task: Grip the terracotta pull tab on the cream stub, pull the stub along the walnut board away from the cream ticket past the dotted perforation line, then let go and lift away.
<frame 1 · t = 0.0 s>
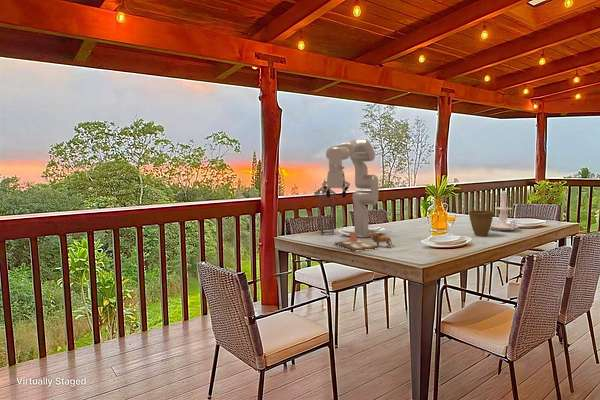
hand: (336, 197, 239), 31 cm above the table, tool pointing down, fingers open, 9 cm apart
geometric lantern: (326, 234, 295), on the table
stub: (353, 237, 251), point 5 cm above the table, slide at 0.0 cm
plant pot: (480, 235, 271), on the table
lion figurine: (381, 247, 246), on the table
candlestick: (504, 230, 287), on the table
ticket board: (355, 246, 249), on the table
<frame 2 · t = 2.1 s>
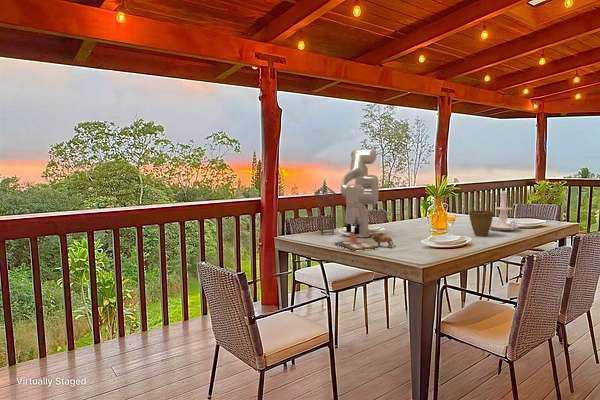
hand: (352, 233, 250), 8 cm above the table, tool pointing down, fingers open, 9 cm apart
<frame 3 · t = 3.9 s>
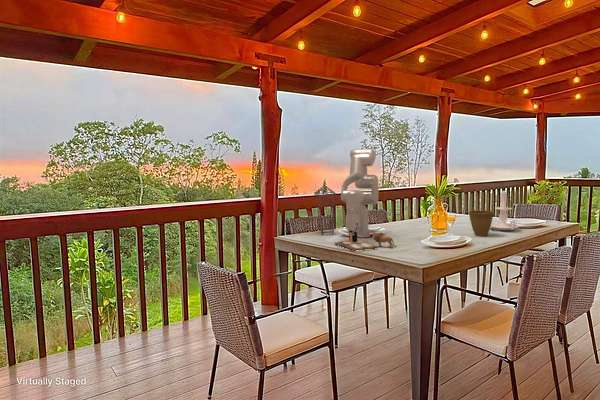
hand: (353, 240, 251), 3 cm above the table, tool pointing down, fingers closed on stub, 3 cm apart
stub: (353, 237, 251), point 5 cm above the table, slide at 0.0 cm, touching gripper
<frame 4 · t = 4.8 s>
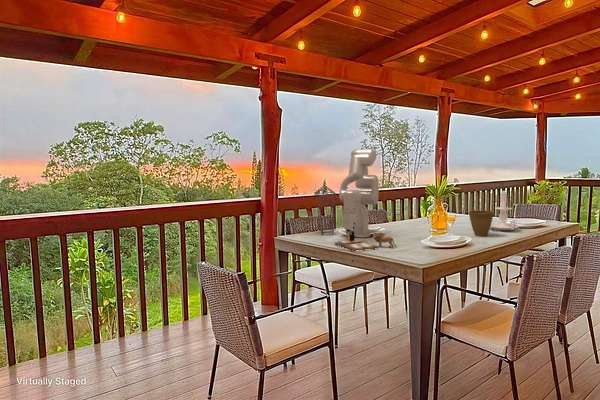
hand: (350, 239, 254), 3 cm above the table, tool pointing down, fingers closed on stub, 3 cm apart
stub: (350, 236, 254), point 5 cm above the table, slide at 3.3 cm, touching gripper
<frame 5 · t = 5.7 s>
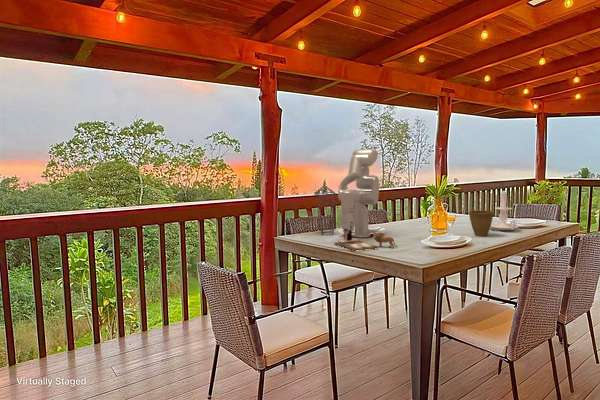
hand: (347, 239, 257), 3 cm above the table, tool pointing down, fingers closed on stub, 3 cm apart
stub: (347, 235, 257), point 5 cm above the table, slide at 6.5 cm, touching gripper
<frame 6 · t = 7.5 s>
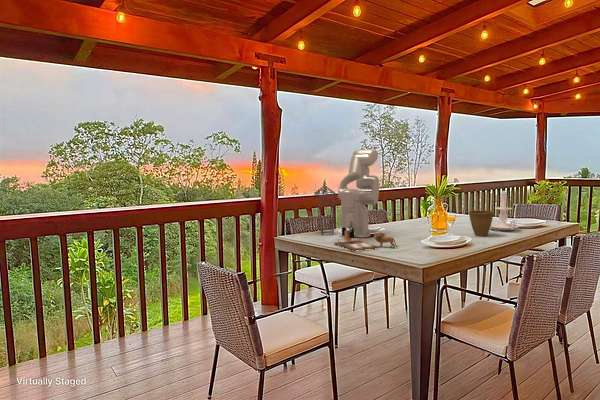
hand: (348, 236, 257), 5 cm above the table, tool pointing down, fingers open, 9 cm apart
stub: (347, 235, 257), point 5 cm above the table, slide at 6.5 cm
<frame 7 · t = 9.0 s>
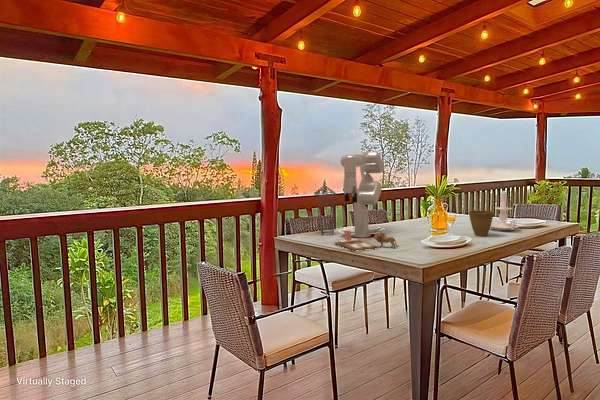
hand: (350, 201, 260), 26 cm above the table, tool pointing down, fingers open, 9 cm apart
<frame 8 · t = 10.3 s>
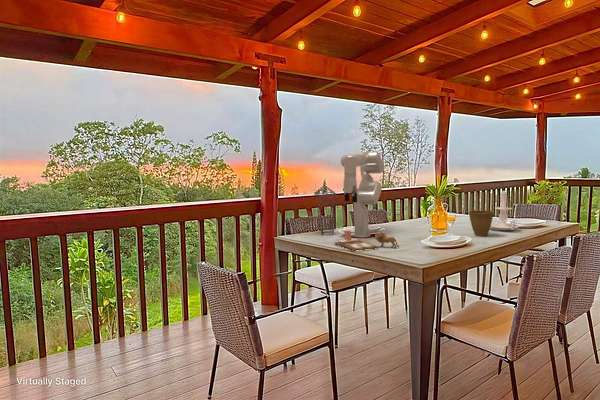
hand: (350, 201, 260), 26 cm above the table, tool pointing down, fingers open, 9 cm apart
at the end: stub slide at 6.5 cm; the gripper is holding nothing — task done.
